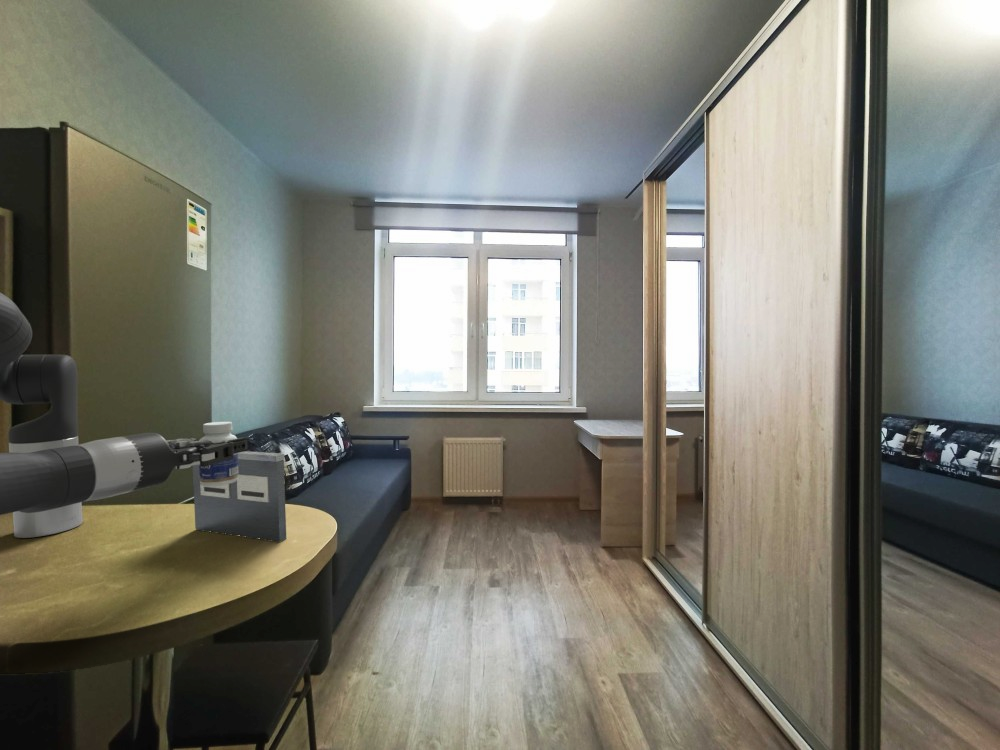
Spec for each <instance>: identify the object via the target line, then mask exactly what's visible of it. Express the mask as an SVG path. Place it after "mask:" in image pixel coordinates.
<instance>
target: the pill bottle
mask: <svg viewBox="0 0 1000 750" xmlns="http://www.w3.org/2000/svg"><path fill="white" fill-rule="evenodd" d="M233 429H234V428H233V422H232V421H212V422H207V423H203V425H202V431H203V434H204V436H203V437H201V438H199V439H200V440H210V441H212V442H219V441H222V440H226V441H227V440H233V439H238V437H237V436H236V435H235V434H232V432H233ZM200 440H199V441H200ZM200 447H201V448H203V447H204V445H200ZM199 476H200V484H201V485H202V486H220V485H226V484H230V483H234V482H236V481H237V480H238V453H235V454H234V458H232V459H229V460H225V461H222V462H219V463H215V464H212V465H208V466H206V467H203V466H200V464H199Z"/></svg>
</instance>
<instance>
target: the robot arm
mask: <svg viewBox="0 0 1000 750" xmlns="http://www.w3.org/2000/svg"><path fill="white" fill-rule="evenodd" d="M32 338H33V329H32V326H31V323H30V322H29V320H28V318H27V317H26V316H25V315H24V314H23V312H22V311H21V310H20V308H19V307H18V305H17V304H16V303H15V302H14V301H13V300H11V298H9V297H8V296H7V295H5V294H4V293H2V292H0V400H1V401H2V402H5V403H7V404H11V405H34V404H36V405H37V404H51V405H50V407H49V408H50V409H49V410H48V411H47V412H45V414H42V415H41V416H39V417H37V418H35V419H31V420H29V421H26V422H22V423H18V424H15V425H14V426H12V427H10V428H9V429H8V432H7V433H8V435H7V436H8V452H0V516H2V515H3V516H4V515H6V514H7V515H8V514H11V513H12V523H13V524H12V525H13V536H14V537H15V538H19V539H20V538H21V539H27V538H28V539H29V538H36V537H37V538H39V537H43V536H49V535H54V534H59V533H62V532H65V531H68V530H72V529H74V528H77V527H79V526H81V525H82V524H83V507H82V505H83V504H82V503H83V502H84V503H85V502H88V501H95V500H102V499H107V498H111V497H115V496H120V495H123V494H128V493H131V492H135V491H140V490H143V489H147V488H151V487H155V486H158V485H161V484H163V483H165V482H166V481H167V479H168V478H169V477H170V476H171V474H172V472H173V469H174V468H175V470H182V469H188V468H191V467H193V465H199V464H200V466H203V467H206V466H208V465H212V464H215V463H219V462H222V461H225V460H229V459H232V458H234V454H235V453H240V452H244V451H248V448H249V443H248V442H249V441H248V438H247V437H239V438H238V437H237V439H233V440H227V441H226V440H222V441H219V442H212V441H210V440H200V439H201V438H198V439H197V438H194V437H192V438H181V437H180V438H177V439H166V438H165V437H164V436H162V435H161V434H159V433H156V432H144V433H137V434H136V433H135V434H129V435H122V436H115V437H110V438H103V439H101V438H100V439H95V440H92V441H88V442H87V441H86V442H84V443H80V444H79V427H78V425H79V424H78V419H79V416H78V414H79V413H78V392H79V390H78V388H79V386H78V385H79V374H78V367H77V364H76V362H75V359H73V357H72V356H70V355H67V354H23V353H25V351H27V349H28V348H29V346H30V344H31V341H32V340H33V339H32ZM199 440H200V441H199ZM200 445H204V447H203V448H201V447H200Z"/></svg>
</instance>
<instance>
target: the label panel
mask: <svg viewBox="0 0 1000 750" xmlns="http://www.w3.org/2000/svg"><path fill="white" fill-rule="evenodd" d="M284 461H285V453H282V452H281V453H278V452H266V451H265V452H263V451H262V452H261V451H248V450H247V451H244V452H240V453H238V480H237V481H236V482H234V483H230V484H226V485H220V486H202V485H201V484H200V476H199V465H193V466H192V479H193V482H192V483H193V501H194V502H193V504H194V526H195V527H194V529H196V530H195V531H199V530H204V531H203V532H206V531H211V532H210V533H213V532H218V533H217V534H220V533H224V534H223V535H227V534H232V535H231V536H234V535H240V536H239V537H241V536H246V537H245V538H247V537H252V538H251V539H254V538H260V539H259V540H261V539H266V540H265V541H268V540H272V541H271V542H275V541H278V542H277V543H281V542H283V541H285V540H287V516H286V515H287V514H286V513H287V512H286V487H285V483H286V482H285V463H284ZM225 533H226V534H225Z"/></svg>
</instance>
